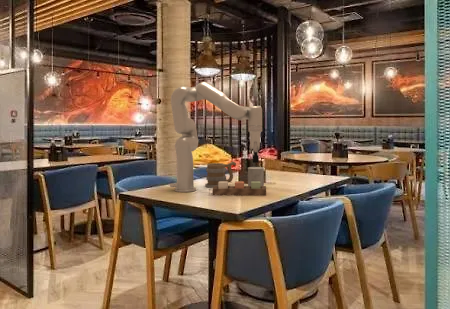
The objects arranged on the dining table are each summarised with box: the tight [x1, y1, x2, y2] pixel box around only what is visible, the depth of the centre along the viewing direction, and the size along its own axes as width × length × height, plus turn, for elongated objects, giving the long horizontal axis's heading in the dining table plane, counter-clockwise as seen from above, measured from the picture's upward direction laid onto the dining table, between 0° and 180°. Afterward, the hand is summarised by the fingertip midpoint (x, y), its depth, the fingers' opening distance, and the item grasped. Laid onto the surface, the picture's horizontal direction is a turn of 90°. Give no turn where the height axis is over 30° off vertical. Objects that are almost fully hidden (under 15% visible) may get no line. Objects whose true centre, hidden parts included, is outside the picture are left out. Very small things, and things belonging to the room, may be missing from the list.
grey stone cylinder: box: [247, 166, 265, 186], centre depth 244 cm, size 10×10×12 cm
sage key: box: [251, 181, 260, 189], centre depth 226 cm, size 5×5×4 cm
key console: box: [211, 185, 267, 196], centre depth 227 cm, size 29×10×4 cm, turn 86°
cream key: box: [218, 181, 229, 188], centre depth 227 cm, size 5×5×4 cm
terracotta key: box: [234, 180, 245, 189], centre depth 227 cm, size 5×5×4 cm
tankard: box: [204, 161, 237, 189], centre depth 253 cm, size 20×13×15 cm, turn 112°
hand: (255, 162), depth 225 cm, fingers closed
